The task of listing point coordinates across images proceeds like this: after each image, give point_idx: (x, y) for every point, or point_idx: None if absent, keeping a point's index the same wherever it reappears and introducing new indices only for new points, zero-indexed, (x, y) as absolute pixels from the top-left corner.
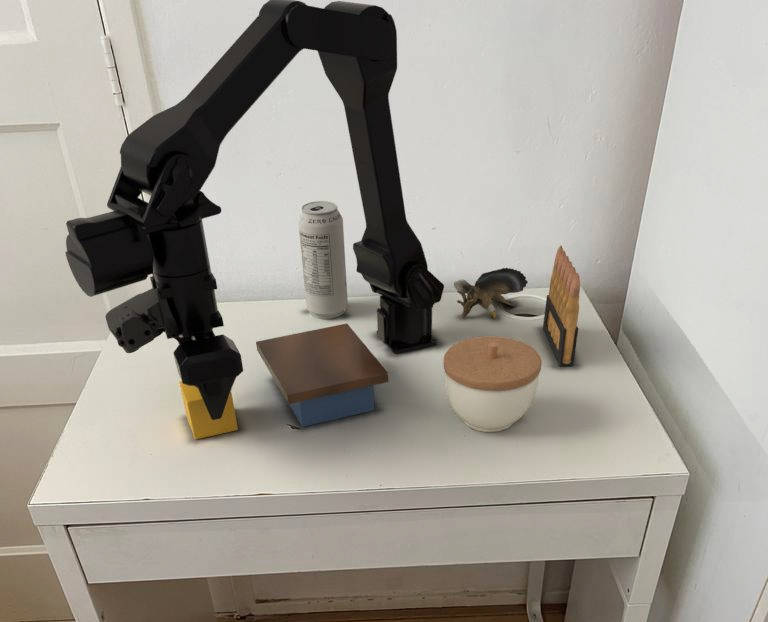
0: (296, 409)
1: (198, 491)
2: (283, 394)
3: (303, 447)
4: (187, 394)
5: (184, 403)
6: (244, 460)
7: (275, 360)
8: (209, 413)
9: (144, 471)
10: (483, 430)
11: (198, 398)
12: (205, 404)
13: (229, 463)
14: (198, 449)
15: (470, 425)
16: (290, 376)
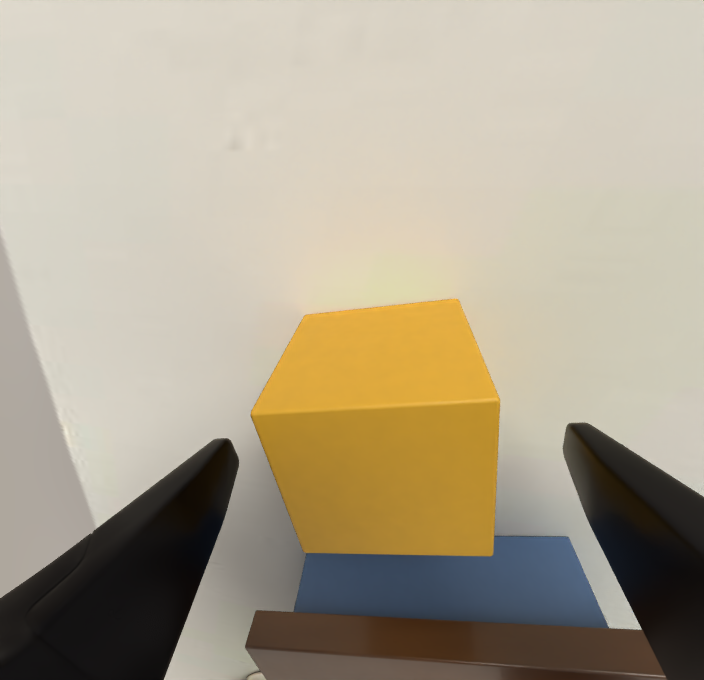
0: (343, 562)
1: (40, 301)
2: (302, 618)
3: (233, 519)
4: (329, 422)
5: (426, 343)
6: (187, 419)
7: (483, 677)
8: (183, 463)
9: (119, 117)
10: (248, 678)
11: (275, 459)
12: (125, 507)
13: (174, 387)
14: (249, 318)
15: (259, 677)
16: (356, 673)
